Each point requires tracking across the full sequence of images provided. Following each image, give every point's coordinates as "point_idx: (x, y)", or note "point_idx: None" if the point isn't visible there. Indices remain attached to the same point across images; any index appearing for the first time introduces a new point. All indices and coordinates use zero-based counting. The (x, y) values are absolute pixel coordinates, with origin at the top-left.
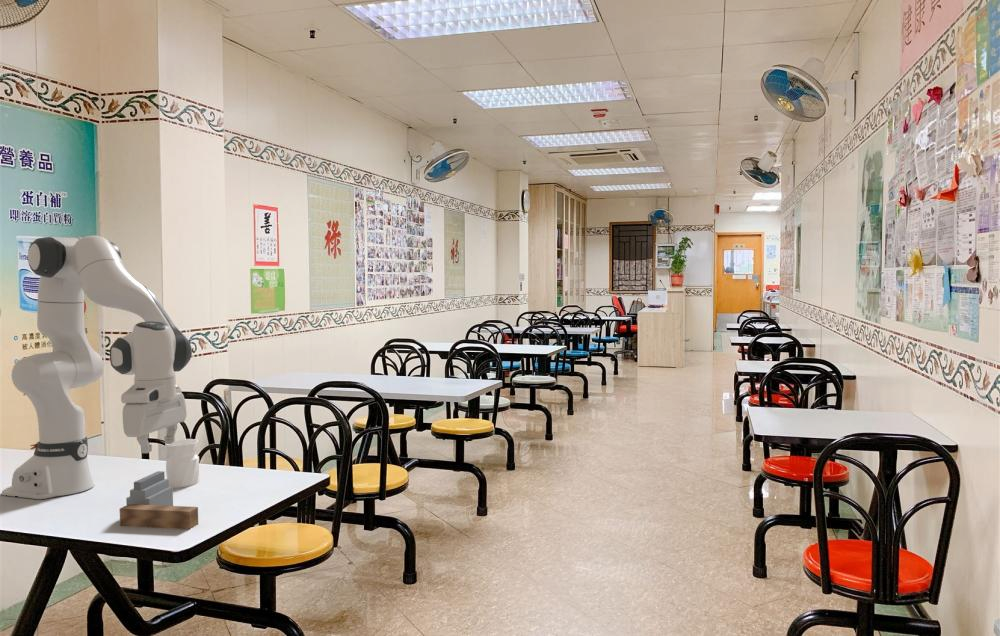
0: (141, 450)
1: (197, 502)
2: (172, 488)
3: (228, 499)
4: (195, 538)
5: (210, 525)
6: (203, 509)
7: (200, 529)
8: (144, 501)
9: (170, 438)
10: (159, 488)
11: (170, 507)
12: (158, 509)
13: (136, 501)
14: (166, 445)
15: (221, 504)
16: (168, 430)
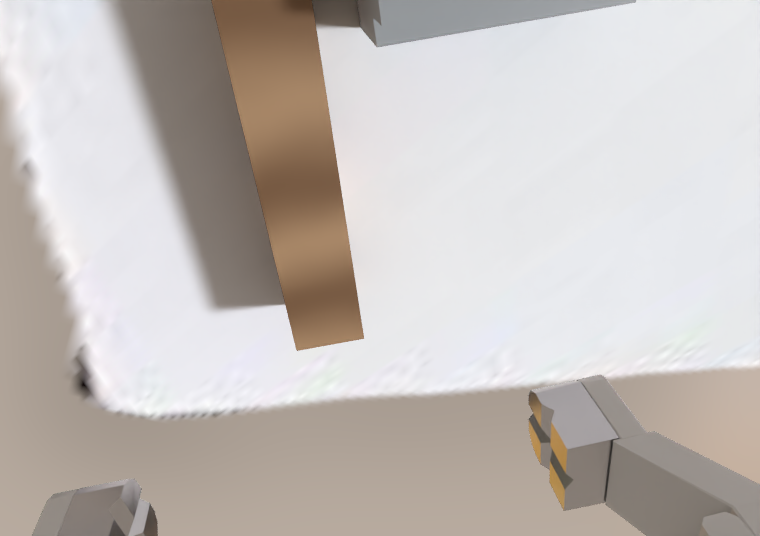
0: (42, 519)
1: (635, 82)
2: (628, 2)
3: (674, 194)
4: (223, 379)
5: None
6: (532, 185)
7: None
8: (369, 8)
9: (555, 486)
10: None
11: (321, 235)
12: (273, 203)
13: None
14: None
15: (604, 212)
16: (690, 503)
